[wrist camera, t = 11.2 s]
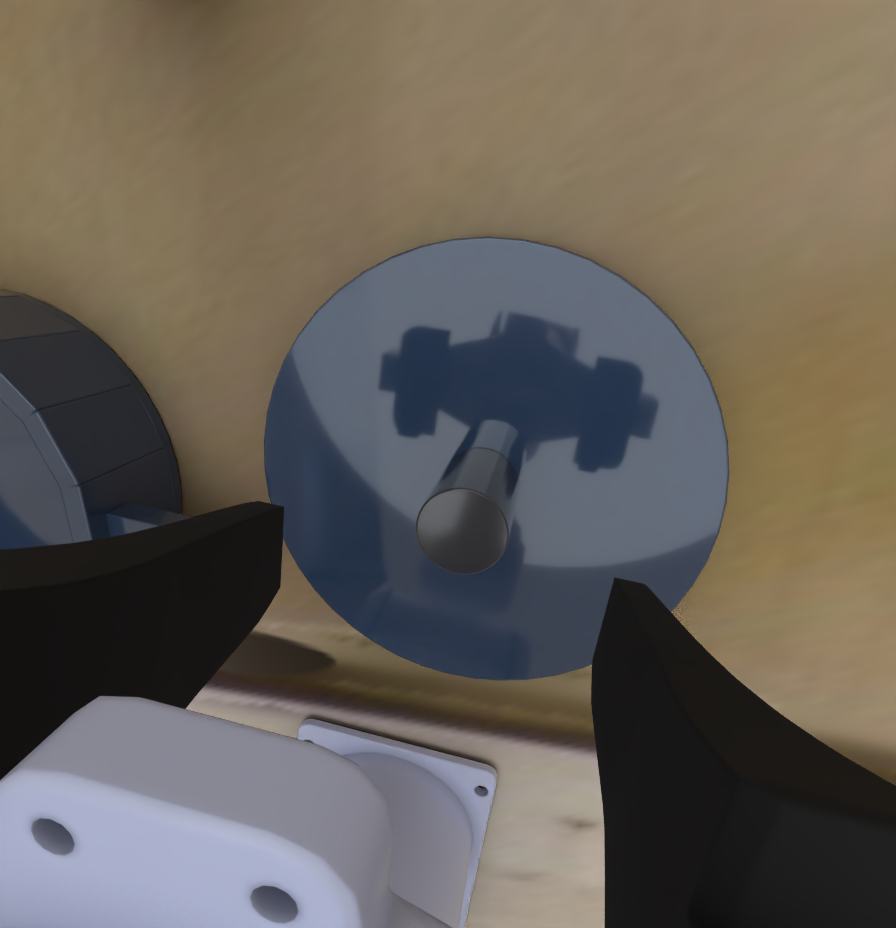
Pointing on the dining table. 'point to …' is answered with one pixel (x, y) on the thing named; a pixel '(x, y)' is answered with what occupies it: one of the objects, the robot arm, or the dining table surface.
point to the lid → (493, 455)
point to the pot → (75, 435)
